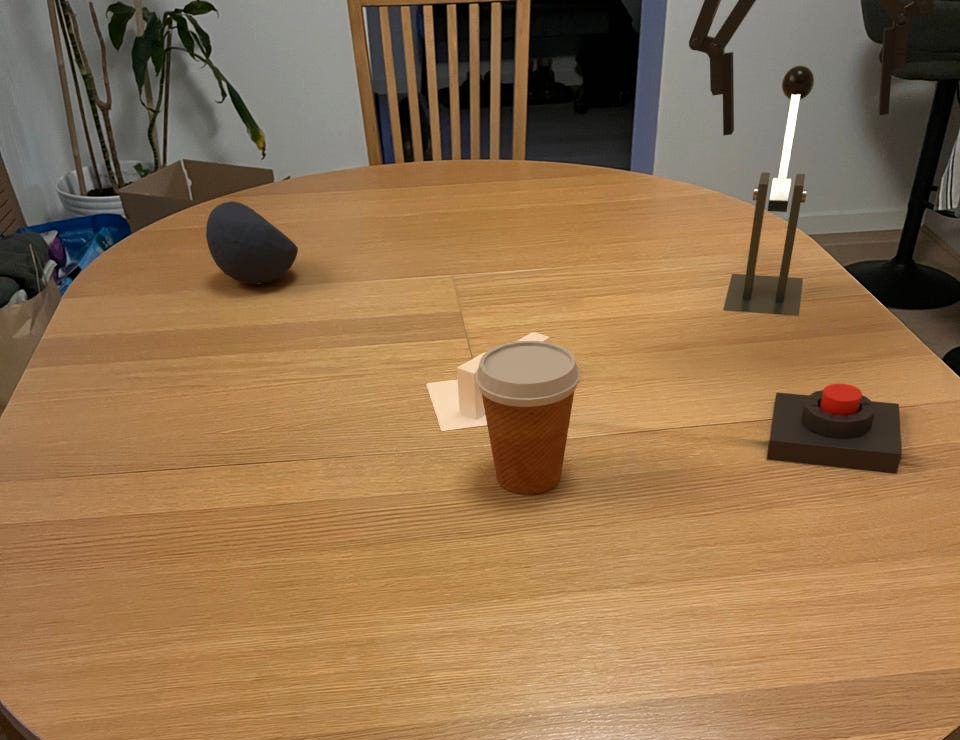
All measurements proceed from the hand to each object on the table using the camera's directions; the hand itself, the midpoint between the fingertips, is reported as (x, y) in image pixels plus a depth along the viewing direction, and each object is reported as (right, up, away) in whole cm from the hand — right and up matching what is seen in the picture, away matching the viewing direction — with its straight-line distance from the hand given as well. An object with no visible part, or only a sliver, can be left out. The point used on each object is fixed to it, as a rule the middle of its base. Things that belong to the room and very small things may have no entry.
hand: (804, 123), depth 89 cm
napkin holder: (-28, -21, +17) cm, 39 cm away
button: (+5, -25, +5) cm, 26 cm away
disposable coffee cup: (-25, -32, +5) cm, 41 cm away
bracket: (+6, -5, +33) cm, 34 cm away
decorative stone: (-61, +2, +45) cm, 76 cm away
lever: (+7, +11, +26) cm, 29 cm away
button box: (+5, -28, +7) cm, 29 cm away
